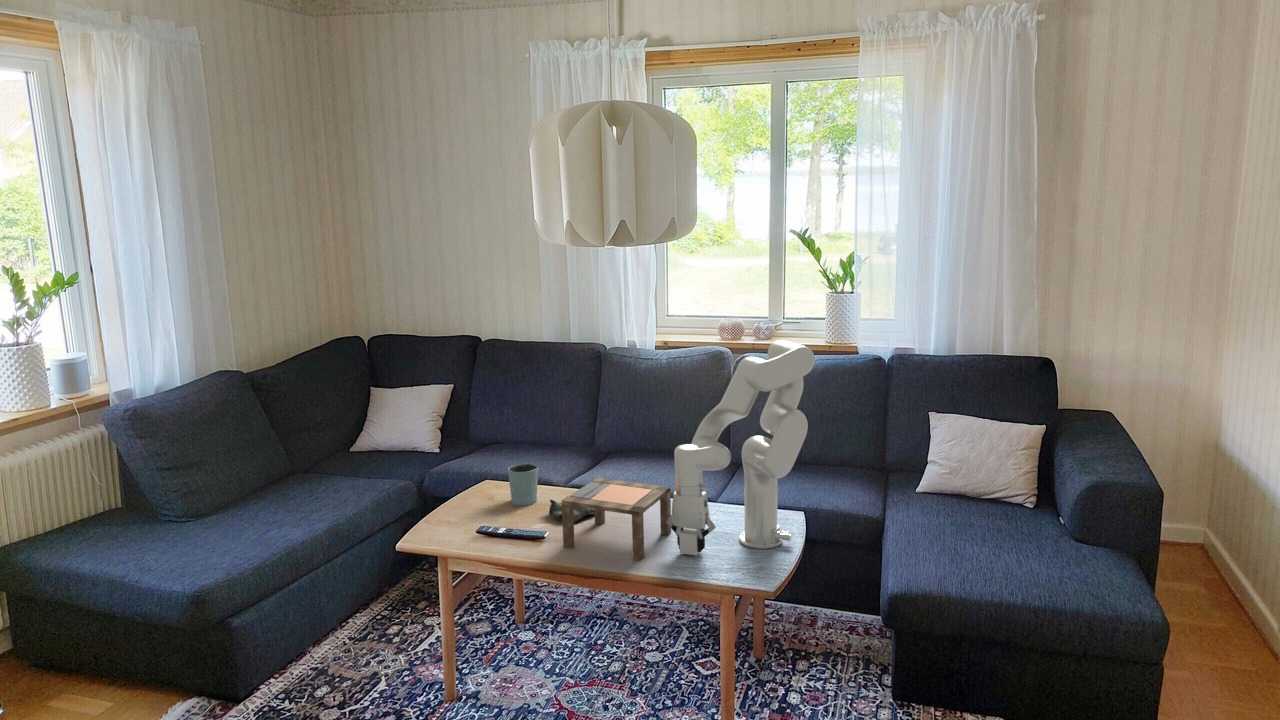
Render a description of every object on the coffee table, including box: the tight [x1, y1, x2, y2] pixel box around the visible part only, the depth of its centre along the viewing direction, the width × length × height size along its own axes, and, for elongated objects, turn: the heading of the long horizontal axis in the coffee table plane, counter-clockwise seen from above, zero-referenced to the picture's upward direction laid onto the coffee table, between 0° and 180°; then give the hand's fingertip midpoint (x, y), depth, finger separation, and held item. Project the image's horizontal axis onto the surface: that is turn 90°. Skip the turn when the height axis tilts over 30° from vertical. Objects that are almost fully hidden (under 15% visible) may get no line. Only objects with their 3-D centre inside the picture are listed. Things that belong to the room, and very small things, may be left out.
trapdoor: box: [569, 481, 653, 511], centre depth 250 cm, size 21×14×4 cm
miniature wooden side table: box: [561, 477, 672, 562], centre depth 250 cm, size 25×22×14 cm
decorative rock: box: [548, 499, 594, 526], centre depth 273 cm, size 19×6×15 cm
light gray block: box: [679, 528, 700, 556], centre depth 239 cm, size 5×5×6 cm
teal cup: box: [507, 462, 539, 507], centre depth 285 cm, size 10×10×12 cm
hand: (691, 548), depth 240 cm, fingers closed on light gray block, 5 cm apart
